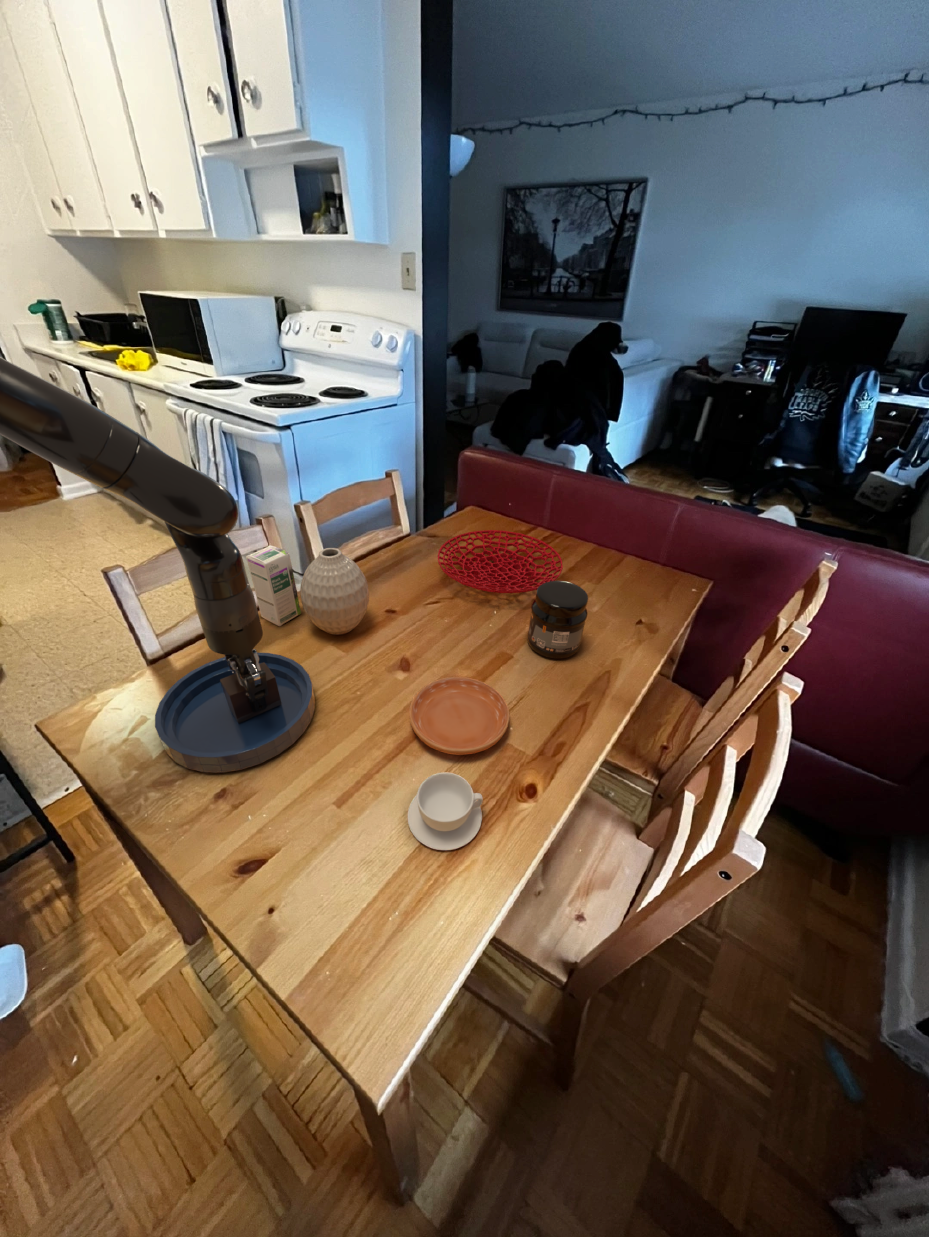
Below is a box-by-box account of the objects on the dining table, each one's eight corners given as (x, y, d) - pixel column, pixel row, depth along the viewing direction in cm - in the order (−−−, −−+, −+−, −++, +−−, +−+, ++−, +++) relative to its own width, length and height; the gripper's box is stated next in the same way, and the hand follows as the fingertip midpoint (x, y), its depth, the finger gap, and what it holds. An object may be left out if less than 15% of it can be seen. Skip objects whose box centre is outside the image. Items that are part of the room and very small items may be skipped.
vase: (355, 601, 108) (348, 531, 98) (382, 632, 100) (377, 558, 90) (297, 619, 102) (283, 546, 92) (320, 653, 93) (308, 576, 84)
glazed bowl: (187, 803, 67) (178, 785, 65) (147, 706, 81) (139, 688, 79) (339, 726, 79) (337, 709, 77) (282, 653, 93) (278, 636, 91)
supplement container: (553, 622, 105) (562, 573, 98) (590, 649, 98) (603, 598, 91) (515, 639, 100) (522, 588, 93) (552, 668, 93) (562, 616, 86)
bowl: (476, 624, 103) (478, 604, 100) (416, 561, 124) (416, 543, 121) (585, 591, 116) (589, 573, 113) (514, 539, 136) (516, 522, 133)
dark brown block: (238, 723, 78) (229, 696, 74) (228, 706, 80) (219, 679, 77) (281, 704, 81) (275, 677, 78) (271, 688, 84) (264, 661, 81)
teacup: (410, 857, 62) (410, 836, 60) (405, 789, 70) (404, 768, 68) (488, 846, 64) (491, 825, 61) (474, 781, 72) (476, 760, 69)
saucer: (527, 736, 79) (530, 723, 77) (440, 779, 72) (441, 766, 70) (473, 677, 90) (474, 665, 88) (392, 709, 83) (391, 696, 81)
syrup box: (279, 627, 99) (266, 563, 91) (260, 617, 102) (245, 554, 93) (301, 614, 103) (290, 552, 95) (282, 604, 106) (269, 543, 97)
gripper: (185, 599, 72) (214, 685, 82) (217, 649, 64) (246, 738, 74) (237, 583, 76) (259, 667, 86) (275, 628, 68) (294, 716, 78)
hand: (253, 699), depth 80 cm, fingers closed on dark brown block, 4 cm apart
